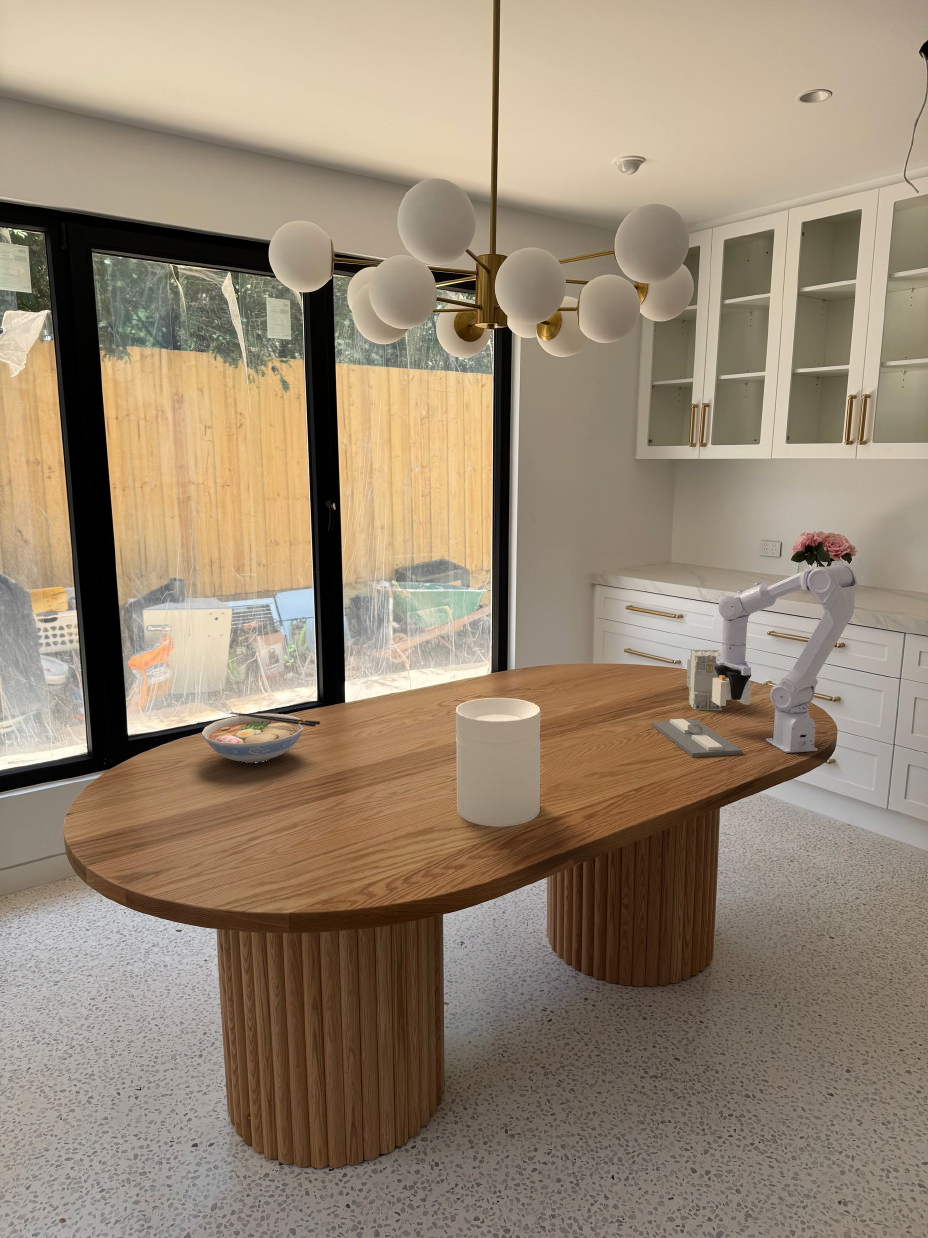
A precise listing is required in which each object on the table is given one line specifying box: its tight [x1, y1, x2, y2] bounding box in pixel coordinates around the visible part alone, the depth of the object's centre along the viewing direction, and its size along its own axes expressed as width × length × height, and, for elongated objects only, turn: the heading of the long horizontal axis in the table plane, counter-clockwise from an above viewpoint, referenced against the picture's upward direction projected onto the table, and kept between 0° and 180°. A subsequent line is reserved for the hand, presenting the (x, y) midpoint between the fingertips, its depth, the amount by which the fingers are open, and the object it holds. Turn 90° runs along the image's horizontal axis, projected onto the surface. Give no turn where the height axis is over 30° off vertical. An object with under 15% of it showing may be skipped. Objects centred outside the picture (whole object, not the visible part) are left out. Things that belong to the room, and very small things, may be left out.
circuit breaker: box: [686, 649, 723, 711], centre depth 229 cm, size 8×14×15 cm, turn 174°
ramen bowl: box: [201, 711, 321, 764], centre depth 187 cm, size 25×23×8 cm
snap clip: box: [688, 724, 703, 733], centre depth 198 cm, size 3×2×1 cm
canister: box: [455, 697, 541, 828], centre depth 156 cm, size 16×16×20 cm
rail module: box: [712, 675, 752, 707], centre depth 204 cm, size 4×8×7 cm, turn 99°
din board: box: [651, 718, 743, 758], centre depth 198 cm, size 24×12×2 cm, turn 9°
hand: (731, 696), depth 205 cm, fingers closed on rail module, 4 cm apart
